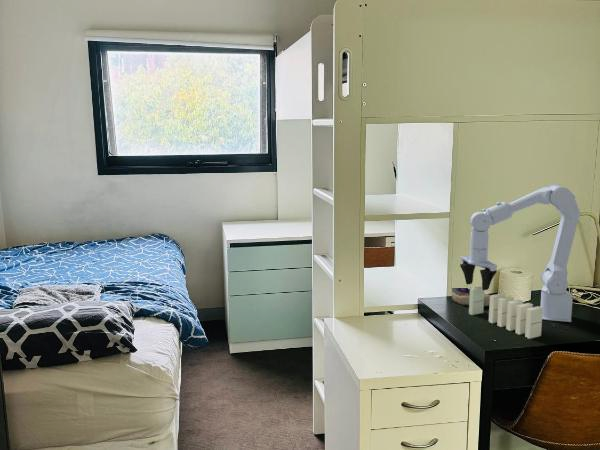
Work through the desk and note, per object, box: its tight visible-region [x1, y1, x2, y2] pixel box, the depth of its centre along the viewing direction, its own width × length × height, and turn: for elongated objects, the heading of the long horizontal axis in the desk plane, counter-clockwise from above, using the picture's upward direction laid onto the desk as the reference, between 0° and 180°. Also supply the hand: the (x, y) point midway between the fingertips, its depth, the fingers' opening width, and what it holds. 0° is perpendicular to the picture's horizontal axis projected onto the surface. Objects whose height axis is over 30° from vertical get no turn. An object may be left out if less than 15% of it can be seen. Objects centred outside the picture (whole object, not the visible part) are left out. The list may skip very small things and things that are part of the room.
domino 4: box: [505, 299, 524, 332], centre depth 173 cm, size 2×5×9 cm, turn 116°
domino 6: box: [524, 305, 543, 340], centre depth 167 cm, size 2×5×9 cm, turn 116°
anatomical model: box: [450, 287, 491, 307], centre depth 201 cm, size 12×16×5 cm
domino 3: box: [496, 296, 515, 328], centre depth 177 cm, size 2×5×9 cm, turn 116°
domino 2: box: [488, 293, 506, 324], centre depth 180 cm, size 2×5×9 cm, turn 117°
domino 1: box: [468, 286, 485, 316], centre depth 188 cm, size 2×5×9 cm, turn 116°
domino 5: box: [515, 302, 534, 335], centre depth 170 cm, size 2×5×9 cm, turn 116°
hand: (477, 286), depth 187 cm, fingers open, 7 cm apart
